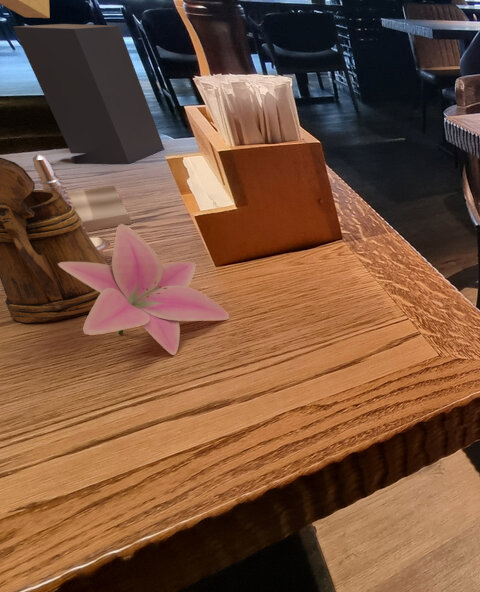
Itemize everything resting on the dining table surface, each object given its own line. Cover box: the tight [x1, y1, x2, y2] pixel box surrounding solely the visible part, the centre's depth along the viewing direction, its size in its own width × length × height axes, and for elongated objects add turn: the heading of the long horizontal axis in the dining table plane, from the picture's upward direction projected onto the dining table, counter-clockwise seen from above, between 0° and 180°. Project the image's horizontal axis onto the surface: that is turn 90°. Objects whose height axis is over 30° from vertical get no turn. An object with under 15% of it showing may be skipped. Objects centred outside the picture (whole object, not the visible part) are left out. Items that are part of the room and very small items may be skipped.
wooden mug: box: [0, 157, 109, 324], centre depth 49 cm, size 9×14×18 cm, turn 35°
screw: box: [32, 154, 111, 261], centre depth 59 cm, size 13×5×5 cm
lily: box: [58, 224, 230, 356], centre depth 48 cm, size 12×12×10 cm
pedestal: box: [12, 23, 165, 165], centre depth 96 cm, size 11×9×22 cm
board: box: [66, 185, 133, 233], centre depth 75 cm, size 16×8×2 cm, turn 44°
